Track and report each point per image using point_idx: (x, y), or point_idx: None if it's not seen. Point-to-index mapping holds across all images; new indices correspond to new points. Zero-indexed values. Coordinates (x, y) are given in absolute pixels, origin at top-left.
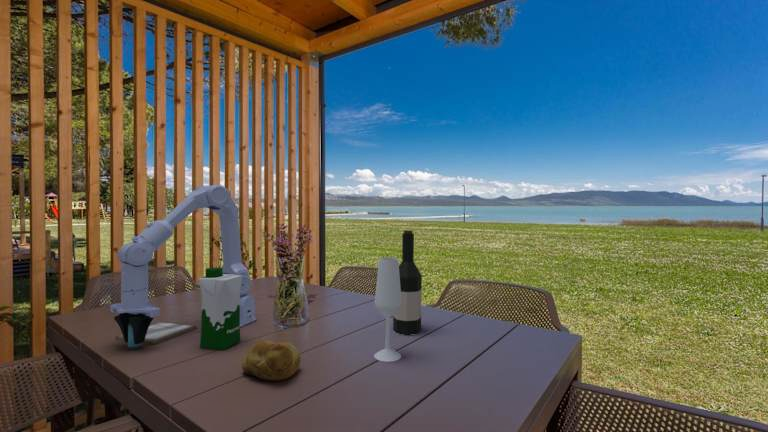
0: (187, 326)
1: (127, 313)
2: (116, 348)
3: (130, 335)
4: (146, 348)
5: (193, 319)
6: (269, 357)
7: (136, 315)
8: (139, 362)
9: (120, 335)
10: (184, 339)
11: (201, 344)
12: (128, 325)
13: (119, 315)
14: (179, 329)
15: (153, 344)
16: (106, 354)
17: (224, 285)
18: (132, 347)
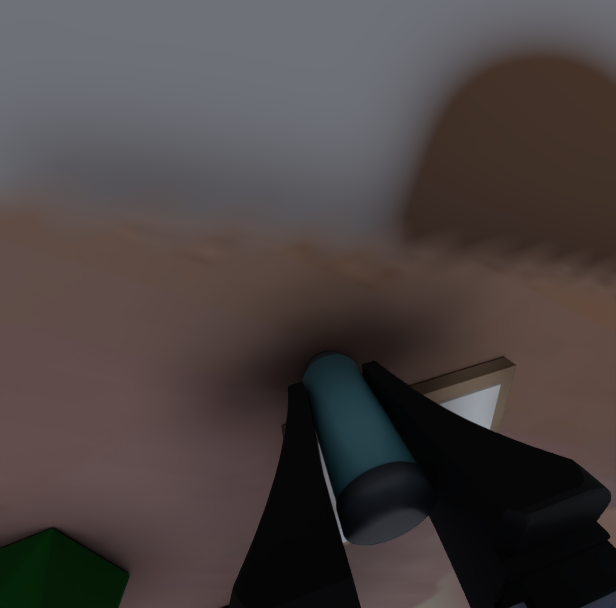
0: (342, 538)
1: (527, 601)
2: (396, 319)
3: (342, 407)
4: (266, 395)
5: (413, 542)
6: None
7: (464, 574)
8: (42, 308)
9: (499, 378)
10: (240, 504)
11: (22, 555)
12: (393, 469)
13: (584, 523)
14: (337, 520)
15: (285, 426)
16: (361, 257)
17: None
18: (315, 362)
